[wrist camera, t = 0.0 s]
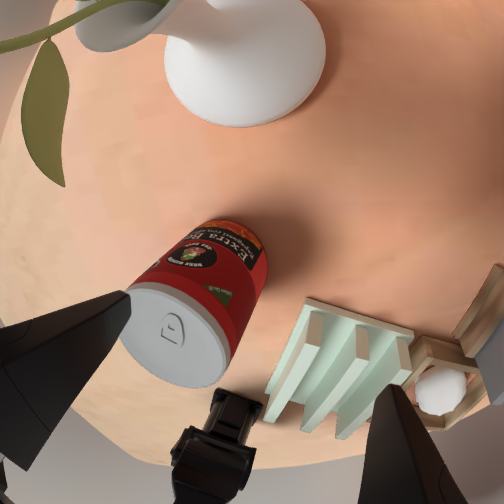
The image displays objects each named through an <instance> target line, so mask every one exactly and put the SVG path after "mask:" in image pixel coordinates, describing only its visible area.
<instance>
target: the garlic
mask: <svg viewBox="0 0 504 504" xmlns="http://www.w3.org/2000/svg"><path fill="white" fill-rule="evenodd" d="M466 382H467V379H466V377H465V373H464V372H463V371H458V370H453V369H449V368H444V367H440V366H434V367H432V368H430V369H428V370H426V371H425V372H423V373H421V374H420V375H419V377H418V378H417V379H416V380H415V383H416V384H415V395H416V402H418V403H419V407H420V409H421V410H422V411H424V412H427V413H428V414H432V415H438V416H441V415H442V414H444V413H447V412H450V411H454V408H455V407H456V406H457V405H458V404H459V403H460V402H461V400H462V398H463V397H464V395H465V394H466Z"/></svg>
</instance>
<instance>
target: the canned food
mask: <svg viewBox="0 0 504 504" xmlns="http://www.w3.org/2000/svg"><path fill="white" fill-rule="evenodd" d="M267 272H268V265H267V257H266V253H265V250H264V247H263V246H262V244H261V242H260V240H259V239H258V238H257V237H256V235H255V234H254V233H253V232H251V231H250V230H249V229H248V228H246V227H245V226H243V225H241V224H239V223H236V222H233V221H227V220H217V221H210V222H207V223H204V224H202V225H200V226H198V227H196V228H195V229H194V230H193V231H192V232H190V233H189V234H188V235H187V236H186V237H184V238H183V239H182V240H181V241H180V242H179V243H177V244H176V245H175V246H174V247H173V248H172V249H170V250H169V251H168V252H167V253H166V254H165V255H163V256H162V257H161V258H160V259H159V260H158V261H157V262H155V263H154V264H153V265H152V266H151V267H150V268H149V269H147V270H146V271H145V272H144V273H143V274H142V275H141V276H140V277H138V278H137V279H136V280H135V282H134V283H132V284H131V285H130V286H129V287H128V288H127V289H126V290H125V291H124V292H126V293H128V294H129V295H130V296H131V310H132V313H131V317H130V319H129V321H128V322H127V324H126V326H125V327H124V329H123V330H122V332H121V334H120V335H119V338H120V340H121V342H122V344H123V345H124V347H125V348H126V350H127V351H128V352H129V353H130V355H131V356H132V357H133V358H134V359H135V360H136V361H137V362H138V363H139V364H140V365H141V366H142V367H144V368H145V369H146V370H147V371H149V372H150V373H152V374H153V375H155V376H156V377H158V378H160V379H162V380H164V381H166V382H168V383H171V384H174V385H177V386H181V387H186V388H204V387H208V386H211V385H213V384H215V383H216V382H218V381H219V380H220V379H221V377H222V376H223V375H224V372H225V371H226V370H227V368H228V366H229V364H230V362H231V360H232V358H233V356H234V354H235V352H236V349H237V347H238V345H239V342H240V340H241V338H242V336H243V333H244V331H245V329H246V326H247V324H248V322H249V319H250V317H251V315H252V312H253V310H254V308H255V305H256V303H257V301H258V298H259V296H260V294H261V291H262V289H263V286H264V284H265V281H266V278H267Z"/></svg>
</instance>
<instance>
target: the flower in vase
mask: <svg viewBox="0 0 504 504" xmlns="http://www.w3.org/2000/svg"><path fill="white" fill-rule="evenodd" d="M72 25H74V26H75V31H76V35H77V37H78V39H79V41H80V42H81V43H82V44H83V45H84V46H85V47H86V48H88V49H90V50H92V51H96V52H111V51H116V50H119V49H122V48H125V47H128V46H130V45H132V44H134V43H136V42H138V41H140V40H142V39H143V38H145V37H146V36H148V35H149V34H163V35H169V36H168V39H167V43H166V47H165V54H164V66H165V73H166V76H167V80H168V82H169V85H170V87H171V89H172V91H173V92H174V94H175V96H176V97H177V98H178V99H179V100H180V102H181V103H182V104H183V105H184V106H185V107H186V108H187V109H188V110H189V111H190V112H192V113H193V114H195V115H196V116H197V117H199V118H201V119H203V120H205V121H207V122H210V123H213V124H216V125H220V126H224V127H233V128H247V127H254V126H259V125H263V124H267V123H270V122H272V121H275V120H277V119H279V118H281V117H283V116H285V115H287V114H288V113H290V112H291V111H293V110H294V109H296V108H297V107H298V106H299V105H300V104H301V103H302V102H303V101H305V99H306V98H307V97H308V96H309V95H310V94H311V92H312V91H313V89H314V88H315V86H316V85H317V83H318V81H319V79H320V77H321V74H322V72H323V68H324V64H325V57H326V43H325V38H324V33H323V31H322V28H321V25H320V23H319V22H318V20H317V18H316V16H315V15H314V14H313V13H312V11H311V10H310V9H309V8H308V7H307V6H306V5H305V4H304V3H303V2H302V1H300V0H77V4H76V8H75V13H74V14H72V15H70V16H68V17H66V18H64V19H62V20H60V21H58V22H56V23H54V24H52V25H50V26H48V27H46V28H44V29H41V30H38V31H36V32H33V33H30V34H28V35H24V36H20V37H17V38H13V39H9V40H6V41H1V42H0V54H1V53H5V52H9V51H13V50H17V49H20V48H23V47H27V46H30V45H32V44H35V43H38V42H40V41H43V40H46V39H47V38H48V40H47V41H46V42H44V44H43V45H42V46H41V48H40V50H39V52H38V54H37V57H36V60H35V62H34V65H33V68H32V71H31V73H30V76H29V79H28V82H27V85H26V88H25V92H24V95H23V101H22V107H21V123H22V132H23V136H24V140H25V144H26V146H27V149H28V151H29V154H30V156H31V158H32V159H33V161H34V163H35V164H36V166H37V167H38V168H39V169H40V170H41V171H42V173H43V174H45V175H46V176H47V177H48V178H49V179H51V180H52V181H54V182H55V183H57V184H58V185H60V186H62V187H65V181H64V175H63V169H62V159H61V142H62V133H63V126H64V120H65V115H66V109H67V104H68V97H69V77H68V73H67V70H66V67H65V64H64V62H63V59H62V57H61V54H60V52H59V50H58V48H57V46H56V45H55V44H54V43H53V42H52V41H51V36H53V35H55V34H57V33H60V32H61V31H63V30H65V29H67V28H69V27H71V26H72Z"/></svg>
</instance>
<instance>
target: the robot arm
mask: <svg viewBox="0 0 504 504" xmlns="http://www.w3.org/2000/svg"><path fill="white" fill-rule="evenodd" d="M131 313H132V310H131V296H130V295H129V294H128V293H126V292H124V291H122V290H118V291H115V292H112V293H109V294H106V295H102V296H99V297H96V298H93V299H90V300H87V301H84V302H81V303H78V304H75V305H72V306H69V307H66V308H63V309H60V310H57V311H54V312H51V313H48V314H45V315H42V316H39V317H36V318H33V320H32V319H30V320H27V321H24V322H21V323H18V324H14V325H11V326H7V327H3V328H0V504H14V503H13V502H12V501H11V500H10V499H9V498H8V497H7V496H6V495H5V494H4V492H5V491H6V489H7V482H6V477H5V471H4V465H3V459H4V458H5V457H7V458H8V459H9V460H11V461H12V462H14V463H15V464H16V465H18V466H19V467H20V468H22V469H24V470H25V471H28V469H29V468H30V466H31V465H32V463H33V461H34V460H35V458H36V457H37V455H38V454H39V452H40V450H41V449H42V447H43V446H44V444H45V443H46V441H47V440H48V438H49V436H50V435H51V433H52V432H53V430H54V429H55V427H56V426H57V424H58V423H59V421H60V420H61V419H62V417H63V416H64V414H65V413H66V411H67V410H68V408H69V407H70V406H71V404H72V403H73V401H74V400H75V398H76V397H77V396H78V394H79V393H80V391H81V390H82V389H83V387H84V386H85V384H86V383H87V382H88V380H89V379H90V378H91V376H92V375H93V373H94V372H95V371H96V369H97V368H98V367H99V365H100V364H101V363H102V361H103V360H104V359H105V357H106V356H107V355H108V353H109V352H110V350H111V349H112V347H113V346H114V344H115V342H116V341H117V339H118V337H119V335H120V334H121V332H122V330H123V329H124V327H125V326H126V324H127V322H128V321H129V319H130V317H131ZM262 408H263V405H262V404H260V403H257V402H254V401H251V400H248V399H245V398H242V397H239V396H236V395H234V394H231V393H228V392H225V391H223V390H220V389H216V390H215V391H214V395H213V399H212V403H211V408H210V414H209V416H208V418H207V421H206V423H205V425H204V427H203V429H202V430H200V429H197V428H195V427H194V426H192V425H191V426H190V427H189V429H187V428H185V430H184V432H183V433H182V435H181V437H180V439H179V440H178V441H177V443H176V444H175V445H174V447H173V448H172V449H171V451H170V454H171V456H172V462H171V466H173V467H174V469H173V471H172V487H173V493H174V497H175V502H174V504H228V503H229V502H230V501H231V500H232V499H233V498H234V497H235V496H236V494H237V492H238V490H240V491H242V490H243V489H244V487H245V485H246V483H247V481H248V478H249V476H250V473H251V469H252V465H253V461H254V457H255V454H256V450H257V448H253V447H252V448H251V447H248V446H245V443H246V440H247V438H248V435H249V432H250V429H251V426H253V425H254V423H255V421H256V419H257V417H258V416H259V414H260V412H261V410H262ZM358 504H468V502H467V501H466V499H465V497H464V496H463V494H462V493H461V491H460V490H459V488H458V486H457V484H456V483H455V481H454V479H453V477H452V476H451V474H450V472H449V470H448V468H447V466H446V465H445V464H444V461H443V459H442V457H441V455H440V453H439V451H438V450H437V448H436V446H435V444H434V442H433V440H432V439H431V437H430V435H429V433H428V431H427V430H426V428H425V426H424V424H423V423H422V421H421V419H420V417H419V416H418V414H417V412H416V410H415V409H414V407H413V405H412V404H411V402H410V400H409V399H408V397H407V395H406V394H405V392H404V390H403V389H402V387H401V386H400V385H397V384H392V383H390V384H388V385H387V386H386V387H385V388H384V389H383V390H382V392H381V393H380V394H379V395H378V396H377V397H376V399H375V402H374V408H373V413H372V418H371V424H370V428H369V433H368V438H367V445H366V453H365V462H364V469H363V475H362V482H361V488H360V493H359V499H358Z"/></svg>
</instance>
